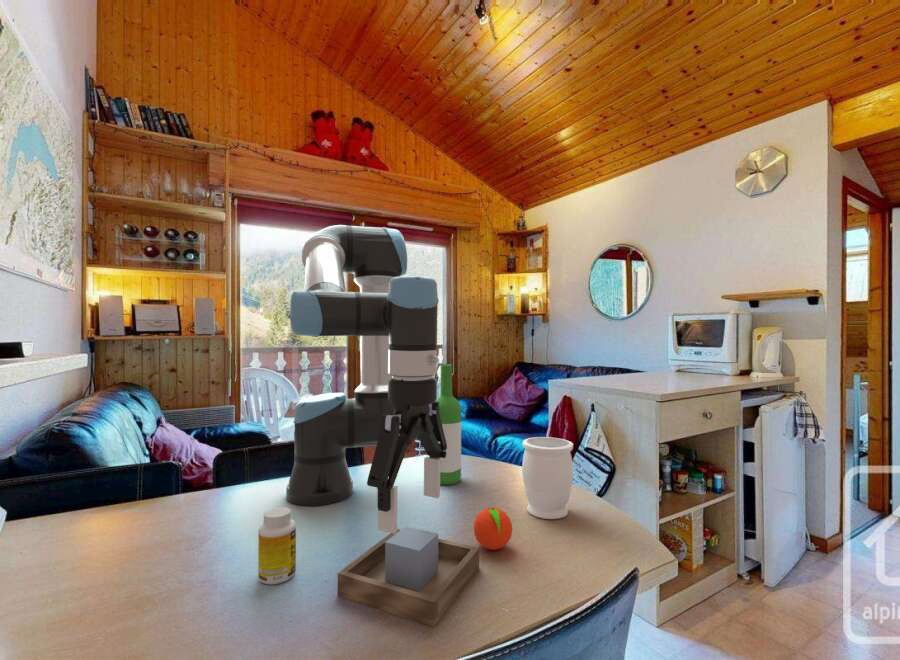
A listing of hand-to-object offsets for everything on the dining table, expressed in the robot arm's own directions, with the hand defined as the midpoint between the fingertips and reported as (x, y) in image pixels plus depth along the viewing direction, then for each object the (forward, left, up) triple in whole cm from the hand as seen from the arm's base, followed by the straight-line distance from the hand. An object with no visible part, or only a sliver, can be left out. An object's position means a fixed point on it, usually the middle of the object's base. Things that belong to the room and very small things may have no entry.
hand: (411, 512), depth 69 cm
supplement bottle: (-20, -8, -11) cm, 24 cm away
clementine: (+8, +15, -11) cm, 20 cm away
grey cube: (0, 0, -10) cm, 10 cm away
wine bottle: (-15, +43, -11) cm, 46 cm away
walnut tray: (0, 0, -11) cm, 11 cm away
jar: (+13, +35, -11) cm, 39 cm away
